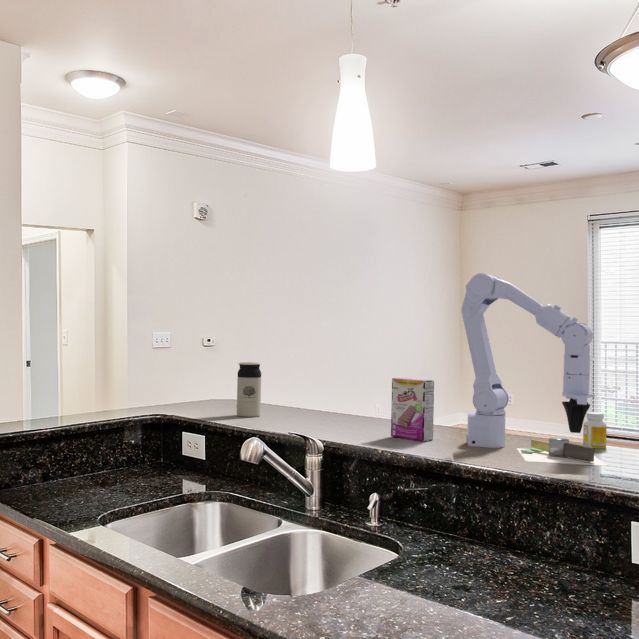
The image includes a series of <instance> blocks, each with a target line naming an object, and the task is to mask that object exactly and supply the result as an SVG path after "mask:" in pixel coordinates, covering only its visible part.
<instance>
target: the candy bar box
mask: <svg viewBox="0 0 639 639" xmlns="http://www.w3.org/2000/svg"><path fill="white" fill-rule="evenodd" d="M434 401H435V380H433V379H424V378H423V379H422V378H412V377H393V378H391V410H390V411H391V414H390V415H391V417H390V423H391V425H390V436H391V437H393V438H400V439H404V440H405V439H406V440H411V439H412V440H411V441H417V440H419V442H428V441H427V440H429V441H432V440H433V439H434V410H435V409H434V407H435V406H434V405H435V402H434Z"/></svg>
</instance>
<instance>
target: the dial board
mask: <svg viewBox="0 0 639 639" xmlns="http://www.w3.org/2000/svg"><path fill="white" fill-rule="evenodd" d="M515 449H516V451H518V453H519V454H520V456H521V457H522V459H523V460H524V461H525V462H526V463H528V462H529V463H549V464H564V465H565V464H567V465H582V466H583V465H587V466H589V465H590V466H604V467H605V466H606V467H607V466H609V465H608V464H607V463H606V462H604V461H602V460H601V459H599V458H598V457H597V456H595V455H594V462H587V461H583V460H578V459H573V458H569V457H564V456H553V455H549V451H544V450H540V449H535V448H531V447H530V448H520V447H518V448H515Z"/></svg>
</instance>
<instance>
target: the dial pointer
mask: <svg viewBox="0 0 639 639" xmlns="http://www.w3.org/2000/svg"><path fill="white" fill-rule="evenodd" d="M531 448H535V449H540V450H544V451H549V455H553V456H564V457H569V458H573V459H578V460H583V461H587V462H594V456H595V449H594V448H593V447H587V446H583V444H577V443H572V442H570V439H569V438H565V437H548V442H547V441H543V440H538V439H533V438H531V439H530V449H531Z"/></svg>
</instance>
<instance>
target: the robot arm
mask: <svg viewBox="0 0 639 639" xmlns="http://www.w3.org/2000/svg"><path fill="white" fill-rule="evenodd" d="M499 299H501V300H509V301H510V302H512V303H514V304H515V305H516V306H518V307H520V308H521V309H523V310H524V311H526V312H528V313H530V314H532V315H533V316H534V317H535V322H536V324H537V325H538V326H540V327H541V328H543V329H545V330H546V331H547V332H549V333H551V334H552V335H554V337H557V338H559V339H561V341H562V343H563V344H564V355H563V376H562V378H563V385H562V387H563V388H562V394H561V396H562V397H565V399H568V400H569V401H561V404H562V406H563V408H564V411H565V414H566V418H567V423H568V428H569V431H570V433H573V434H575V433H577V434H580V433H581V431H582V429H583V425H584V422H585V417H586V416H587V412H589V411H588V410H589V409H590V407H591V404H590V403H589V401H588V399H589V398H595V395H596V394H595V393H590V378H591V375H590V372H591V354H590V351H591V347H590V346H591V345H590V344H591V343H592V341H593V338H594V337H593V336H594V334H593V330H592V329H591V328H590V327H589V326H588V325H587V324H586V323H582V322H578V321H579V319H578V318H577V317H576V316H573V317H572V316H570V315H569V314H567V313H566V312H564V311H563V310H561V309H562V307H561V306H560V305H559V304H554V305H553V304H552V303H548V304H544V305H543V304H542V303H540V302H539V301H537V300H536V299H534V297H532V296H530V295H528V294H527V293H526V292H524V291H523V290H522V289H521V288H519V287H518V286H516V285H515V284H512V283H511V282H508V281H507V280H503V279H502V278H500V277H499V276H497V275H490V274H487V273H483V272H478V273H476V274H475V275H473V276H472V277H471V278H470V280H468V282H467V284H465V295H464V298H463V302H462V306H461V308H460V309H461V316H462V320H463V326H464V330H465V335H466V339H467V343H468V348H469V353H470V357H471V363H472V367H473V371H474V372H473V373H474V377H475V378H474V380H473V384H472V386H473V395H472V404H473V407H474V409H475V413H474V412H468V414H467V426H466V428H467V432H466V433H467V434H466V437H465V438H466V439H465V441H466V442H465V443H467V445H468V447H479V448H480V447H481V448H493V449H498V448H500V449H501V448H504V447H506V411H505V408H506V407H507V406H508V404H509V399H510V398H509V397H510V396H509V394H508V392H507V390H506V389H505V387H503V383H502V380H501V378H500V377H499V376H498V374H497V370H496V364H495V361H494V356H493V352H492V346H491V343H490V339H489V334H488V329H487V325H486V320H485V316H484V314H485V313H486V311H487V310H488V308H489V307H490V305H492V304H494V303H495V302H496V301H497V300H499Z"/></svg>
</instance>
